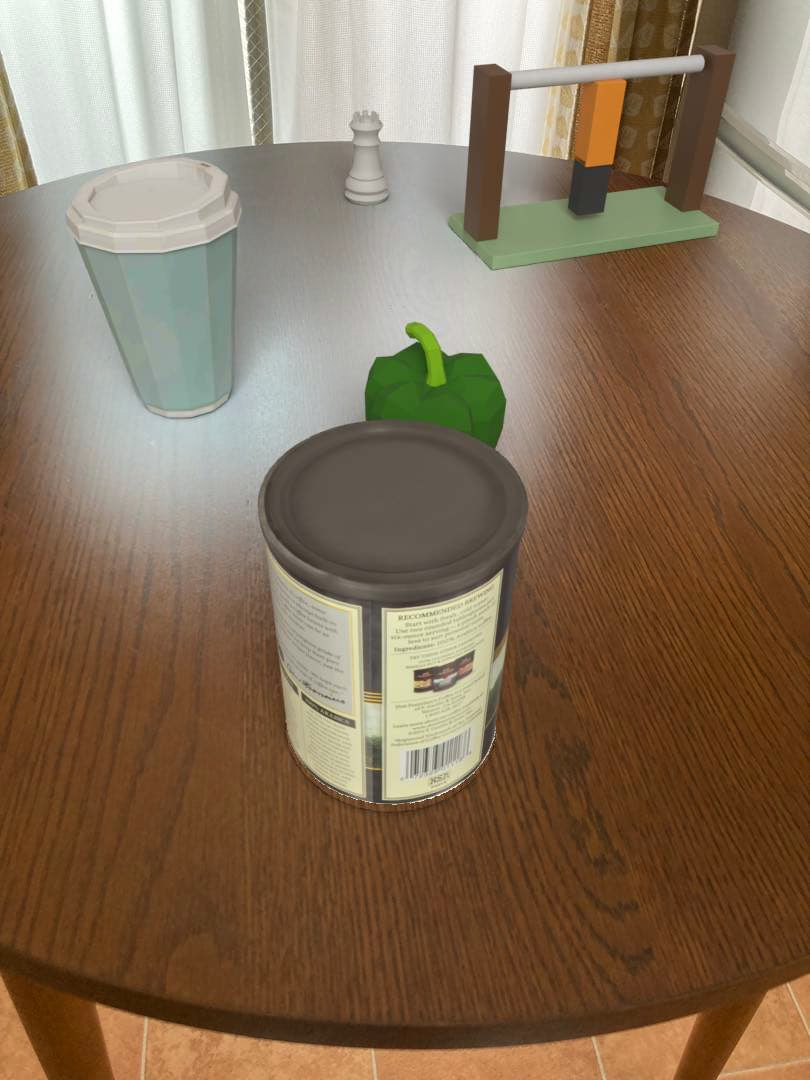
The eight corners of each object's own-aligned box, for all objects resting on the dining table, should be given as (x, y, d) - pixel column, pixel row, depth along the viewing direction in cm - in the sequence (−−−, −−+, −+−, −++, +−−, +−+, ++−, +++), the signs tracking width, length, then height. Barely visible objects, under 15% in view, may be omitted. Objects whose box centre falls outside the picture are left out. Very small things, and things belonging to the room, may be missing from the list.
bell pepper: (512, 512, 56) (529, 370, 50) (379, 528, 55) (380, 384, 48) (477, 434, 62) (488, 298, 56) (357, 447, 61) (354, 309, 54)
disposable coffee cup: (166, 456, 60) (123, 233, 50) (77, 392, 65) (22, 179, 55) (290, 394, 66) (274, 183, 56) (198, 339, 71) (169, 139, 61)
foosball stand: (660, 197, 95) (693, 35, 85) (717, 235, 88) (760, 64, 78) (448, 226, 88) (457, 54, 78) (492, 270, 81) (508, 88, 71)
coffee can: (378, 612, 50) (378, 389, 40) (538, 711, 45) (580, 484, 36) (237, 730, 44) (199, 501, 34) (404, 859, 39) (413, 633, 30)
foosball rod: (664, 193, 90) (693, 51, 82) (677, 203, 88) (709, 58, 80) (489, 217, 85) (501, 68, 76) (500, 228, 83) (514, 76, 75)
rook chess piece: (370, 186, 95) (370, 104, 90) (397, 199, 93) (399, 116, 87) (335, 196, 93) (333, 112, 88) (362, 210, 91) (361, 125, 85)
